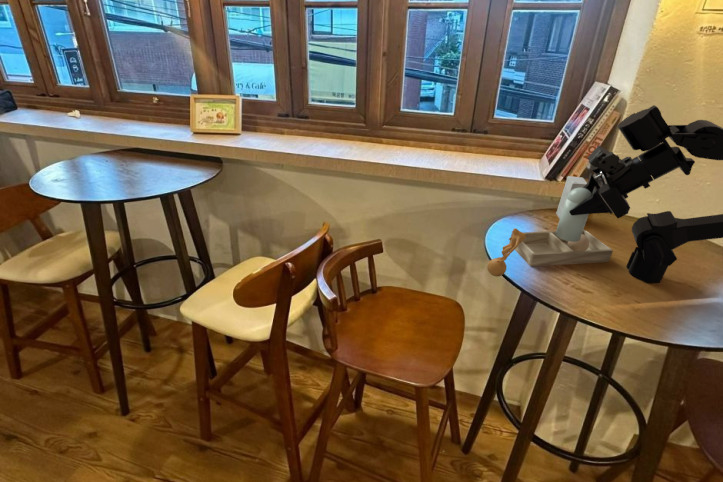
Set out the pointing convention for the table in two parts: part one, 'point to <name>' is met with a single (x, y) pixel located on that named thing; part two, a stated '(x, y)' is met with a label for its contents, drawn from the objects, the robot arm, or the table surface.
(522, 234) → the figurine
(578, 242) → the brown egg
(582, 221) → the pale blue pillar
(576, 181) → the skincare box
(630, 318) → the table surface
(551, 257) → the caddy
